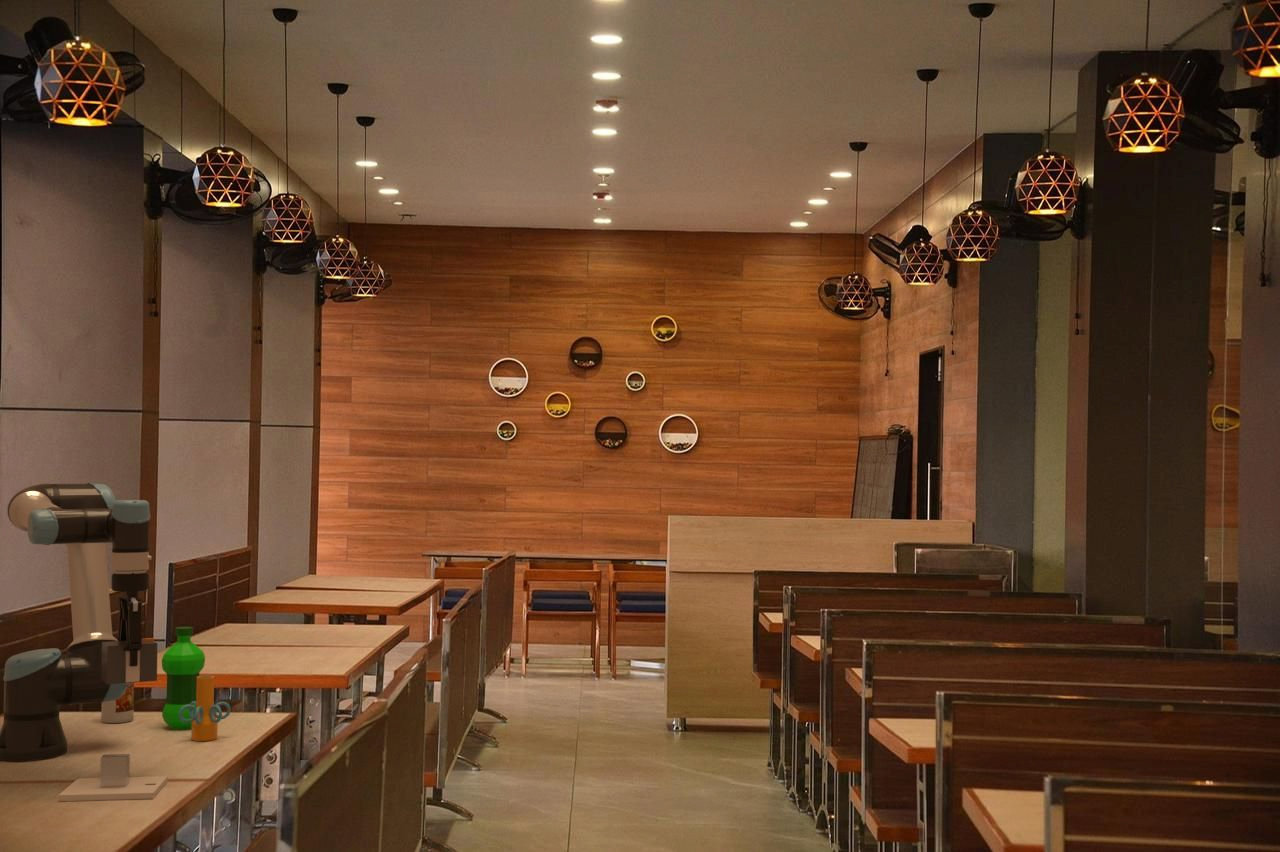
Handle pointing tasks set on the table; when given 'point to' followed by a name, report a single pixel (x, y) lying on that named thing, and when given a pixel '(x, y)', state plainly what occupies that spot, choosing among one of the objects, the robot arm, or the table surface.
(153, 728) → the table surface
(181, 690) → the plastic bottle
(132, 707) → the milk bottle
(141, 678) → the dark grey block
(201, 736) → the orange tube with rings
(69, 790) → the board
